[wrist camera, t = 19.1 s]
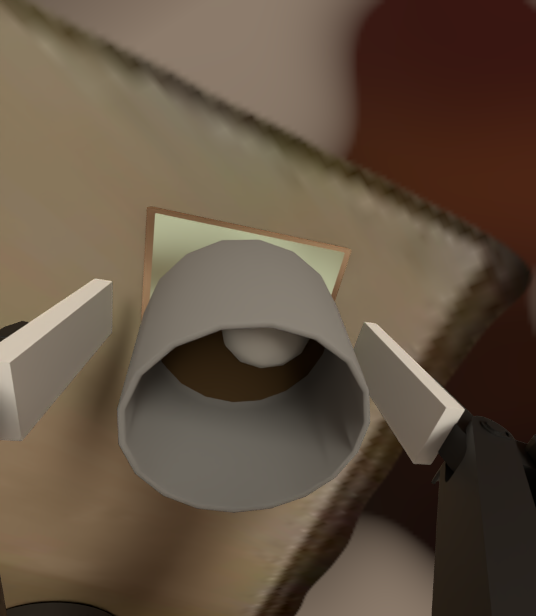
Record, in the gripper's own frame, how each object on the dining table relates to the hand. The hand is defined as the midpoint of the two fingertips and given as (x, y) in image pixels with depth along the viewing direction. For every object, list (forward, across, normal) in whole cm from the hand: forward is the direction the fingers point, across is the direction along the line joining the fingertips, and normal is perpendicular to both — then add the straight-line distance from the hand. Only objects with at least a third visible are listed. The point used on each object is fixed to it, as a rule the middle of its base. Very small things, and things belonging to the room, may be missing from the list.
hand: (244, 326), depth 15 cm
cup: (+3, 0, 0) cm, 3 cm away
